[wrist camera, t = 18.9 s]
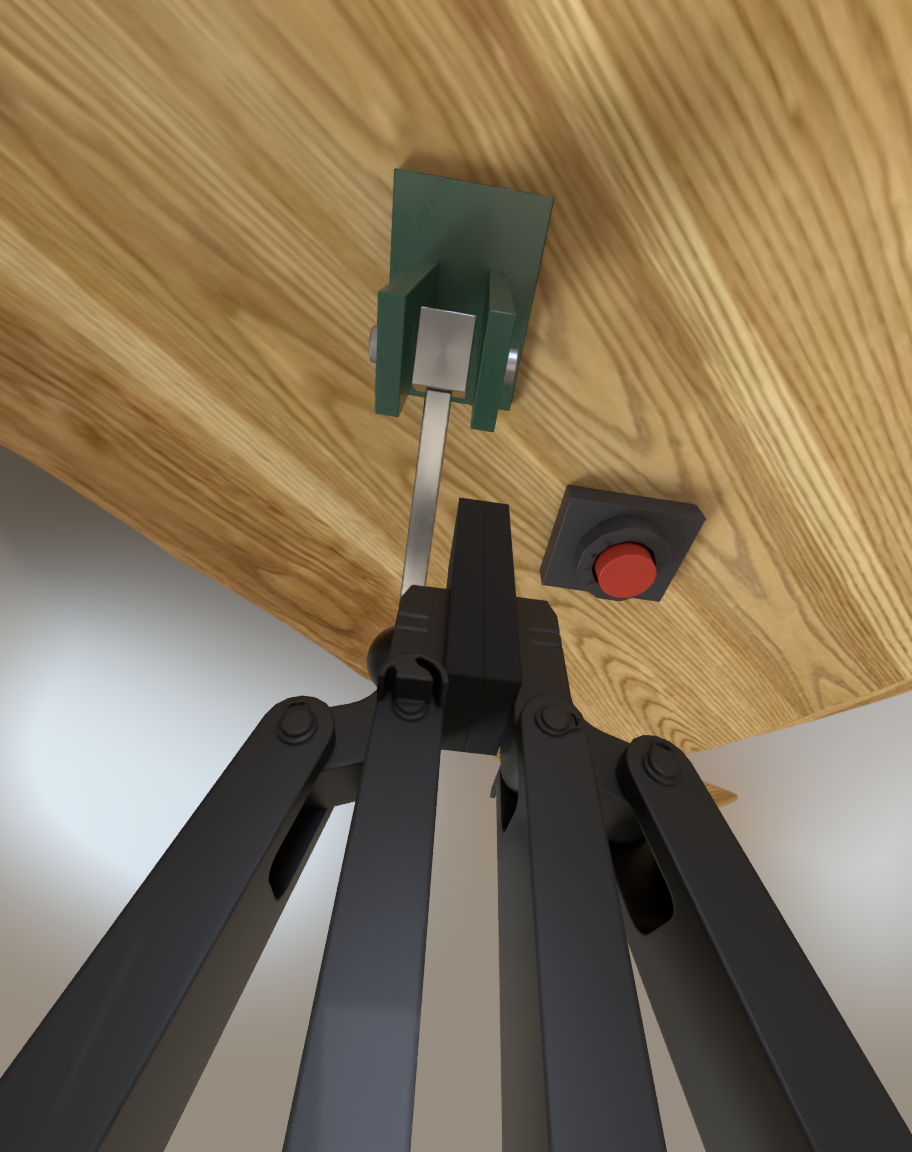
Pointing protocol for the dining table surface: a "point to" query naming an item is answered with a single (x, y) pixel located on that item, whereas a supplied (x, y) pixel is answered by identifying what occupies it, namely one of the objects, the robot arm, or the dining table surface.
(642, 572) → the button
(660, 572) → the button box
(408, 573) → the lever
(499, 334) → the bracket
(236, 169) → the dining table surface
